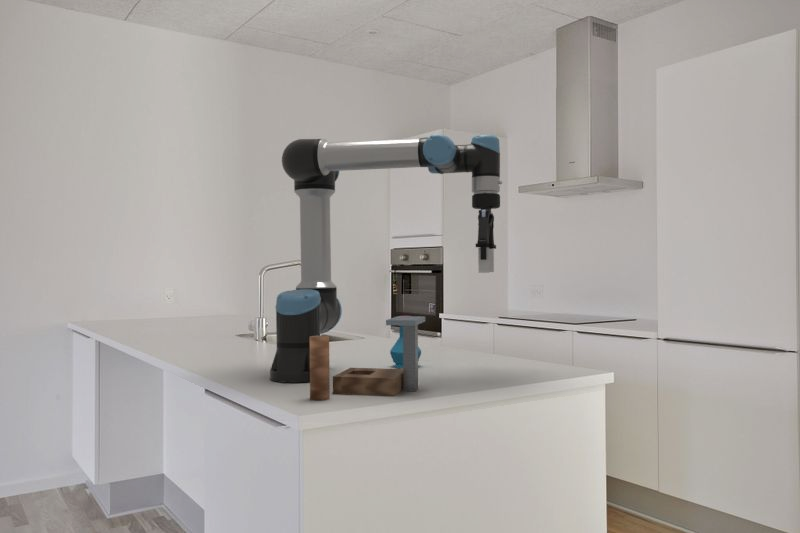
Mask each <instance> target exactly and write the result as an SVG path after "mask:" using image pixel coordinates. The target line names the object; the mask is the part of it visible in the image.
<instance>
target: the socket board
mask: <svg viewBox="0 0 800 533" xmlns="http://www.w3.org/2000/svg"><path fill="white" fill-rule="evenodd" d="M402 391H403V368H376V367H375V368H374V367H371V368H370V367H349V368H347V369H345V370H343V371H341V372H339V373H337V374H335V375H333V376H332V395H333V394H334V395H355V396H356V395H358V396H359V395H360V396H361V395H362V396H382V397H383V396H385V397H396V396H397V395H398V394H399V393H401V392H402Z"/></svg>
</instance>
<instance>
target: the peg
mask: <svg viewBox="0 0 800 533" xmlns="http://www.w3.org/2000/svg"><path fill="white" fill-rule="evenodd" d="M330 380H331V379H330V335H320V336H310V382H309V400H311V401H326V400H330V399H331V398H330V397H331V396H330V395H331V394H330V392H331V391H330V386H331V385H330V384H331V383H330Z"/></svg>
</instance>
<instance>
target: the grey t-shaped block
mask: <svg viewBox="0 0 800 533" xmlns="http://www.w3.org/2000/svg"><path fill="white" fill-rule="evenodd" d="M425 322H426V316H421V315H419V316H412V315H398V316H393V317H391V318H389V319H385V325H386V326H399V325H403V368H402V369H403V390H402V391H403V392H417V391H418V390H419V361H418V347H419V332H418V330H419V325H420V324H423V323H425Z"/></svg>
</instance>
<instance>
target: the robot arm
mask: <svg viewBox="0 0 800 533" xmlns="http://www.w3.org/2000/svg"><path fill="white" fill-rule="evenodd" d="M500 148H501V147H500V139H499V138H498V137H497V136H496V135H493V134H480V135H474V136H473V137H472V138H471V142H470V143H469V144H455V143H454V141H453V140H452V138H450V137H449V136H447V135H444V134H441V133H434V134H431V135H430V136H428V137H412V138H411V137H408V138H390V139H369V140H368V139H367V140H350V141H345V140H344V141H328V140H327V139H326V138H299V139H296V140H293V141H291V142H290V143H289V144H287V146H286V147H285V148H284V150H283V152H282V156H281V165H282V168H283V170H284V172H285V174H286V175H287V176H288V177H289V178H291V179H292V180H293V181H294V182H293V184H294V186H293V188H294V193H295V194H296V196H297V197H298V198H299V218H300V220H299V224H300V226H299V228H300V231H299V232H300V282H299V283H298V284H297V285H296V286H295V289H293V290H286V291H282V292H280V293H279V294H278V295H276V296H277V297H276V300H275V301H276V302H275V303H276V304H275V320H276V321H275V322H276V326H275V327H276V329H275V330H276V331H275V332H276V333H275V334H276V351H275V354H274V357H273V360H272V364H271V367H270V370H269V374H270V375H269V376H270V378H269V379H270V380H271V381H274V382H277V383H308V382H309V383H310V336H321V334H324V333H327V332H329V331H331V330H333V329H334V328H335V327H336V326H337V325H338V323H339V322H340V321H341V317H342V315H343V314H342V311H343V309H342V304H341V301H340V299H338V298H337V297H338V296H337V293H338V292H337V285H336V284H335V283H334V282H333V281H332V254H331V253H332V252H331V251H332V250H331V249H332V248H331V246H332V245H331V197H332V196H333V195H334V194H335V193H336V181H337V180H338V179H339V175H340V171H342V172H343V171H344V172H345V171H361V170H363V171H365V170H384V169H385V170H386V169H389V170H390V169H409V168H412V169H413V168H427V170H428V172H429V173H431V174H439V175H443V174H456V173H457V174H458V173H471V193H473V194H472V195H471V207H472V208H473V209H476V210H478V215H477V220H478V230H477V241H476V243H475V248H478V249H477V250H478V260H477V262H478V273H482V274H485V273H487V274H488V273H494V272H495V269H494V268H495V266H494V265H495V264H494V263H495V260H494V259H495V258H494V257H495V256H494V254H495V253H494V252H495V250H494V249H497V245H496V244H495V240H494V239H495V237H494V227H495V226H494V225H495V223H494V221H495V215H494V214H493V212H492V210H494V209H499V208H500V207H501V195H500V194H499V193H500V191H501V185H502V184H503V181H502V180H500V176H501V170H500V169H501V157H500V156H501V152H500Z"/></svg>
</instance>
